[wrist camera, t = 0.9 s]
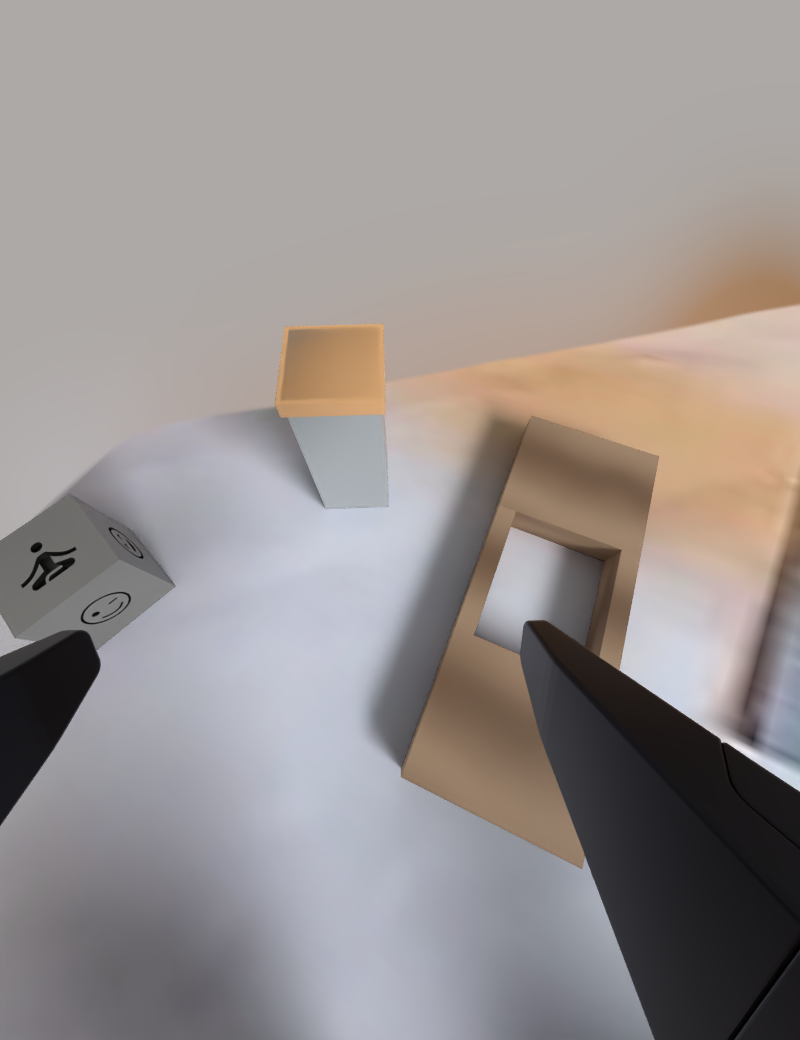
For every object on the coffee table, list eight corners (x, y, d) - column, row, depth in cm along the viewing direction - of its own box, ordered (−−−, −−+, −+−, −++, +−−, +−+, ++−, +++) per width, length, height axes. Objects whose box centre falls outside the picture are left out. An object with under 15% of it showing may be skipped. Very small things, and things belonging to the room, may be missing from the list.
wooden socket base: (563, 850, 18) (582, 868, 16) (401, 768, 19) (401, 777, 17) (640, 473, 26) (659, 456, 24) (522, 434, 27) (531, 415, 25)
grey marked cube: (97, 649, 21) (15, 637, 17) (56, 587, 23) (-31, 561, 18) (176, 586, 23) (119, 559, 18) (132, 531, 24) (70, 493, 20)
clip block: (391, 509, 25) (384, 401, 16) (322, 511, 25) (274, 404, 16) (390, 451, 26) (383, 324, 17) (325, 453, 26) (284, 326, 17)
